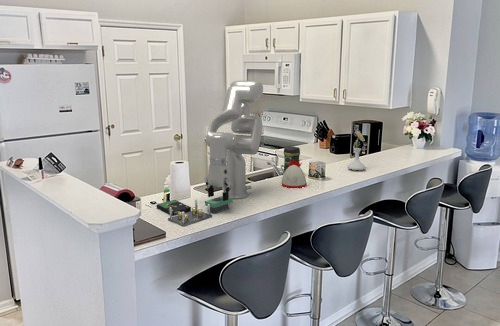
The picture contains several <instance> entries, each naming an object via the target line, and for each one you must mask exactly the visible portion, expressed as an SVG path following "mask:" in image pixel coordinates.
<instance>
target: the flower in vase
mask: <svg viewBox="0 0 500 326" xmlns="http://www.w3.org/2000/svg"><path fill="white" fill-rule="evenodd" d="M356 136H357V139H356V142H355V143H354V144H355V146H356V147H354V148H353V150H354V156H355V157H354V160H353V161H352V162H350V163H349V164H348V165H347V169H349V170H351V169H352V171H356V170H359V171H364V170H366V168H367V167H366V166H365V164H364V163H362V161H360V153H361V151H362V148H360V147H359V146H361V143H359V144H357V143H358V140H360V141H362V142H364V141H365V137H364V136H363V134H362V133H361V131H359V130H357V131H356ZM363 169H364V170H363Z"/></svg>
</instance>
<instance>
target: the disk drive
mask: <svg viewBox="0 0 500 326" xmlns="http://www.w3.org/2000/svg"><path fill="white" fill-rule="evenodd" d="M170 207H172V217H174V216H177V215H178V212H183V211H184V213H187V212H190V211H192V207H191V206H189V205H187V204H185V203H183V202H181V201H179V200H176V199H172V200H168V201H165V202H161V203H156V209H158V210H160V211H161V212H163V213H165V214H167V215H168V216H170Z"/></svg>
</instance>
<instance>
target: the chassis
mask: <svg viewBox="0 0 500 326" xmlns="http://www.w3.org/2000/svg"><path fill="white" fill-rule="evenodd" d="M210 218H211V219H212V218H213V214H211V212H210V204H208V206H207V212H205V211H203V209H199V208H198V199H195V200H194V207H191V211H190V212H187V213H184V211H183V212H178V215H174V216H172V207H170V215H169V217H168V218H167V221H168V222H171V223H172V224H173V223H174V224H176V225H179V226H181V227H188V226H190V225H193V224H196V223H199V222H202V221H205V220H208V219H210Z"/></svg>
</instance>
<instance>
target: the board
mask: <svg viewBox="0 0 500 326" xmlns="http://www.w3.org/2000/svg"><path fill="white" fill-rule="evenodd" d="M233 201H234V199H233V198H231V197H229V199H228V200H226V201H223V195H220V196H218V197H214V198H210V199H208V200H205V201H204V206H207V207H208V204H210V207H212V208H216V207H219V206H222V205H225V204H228V203H229V204H230V203H233Z"/></svg>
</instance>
